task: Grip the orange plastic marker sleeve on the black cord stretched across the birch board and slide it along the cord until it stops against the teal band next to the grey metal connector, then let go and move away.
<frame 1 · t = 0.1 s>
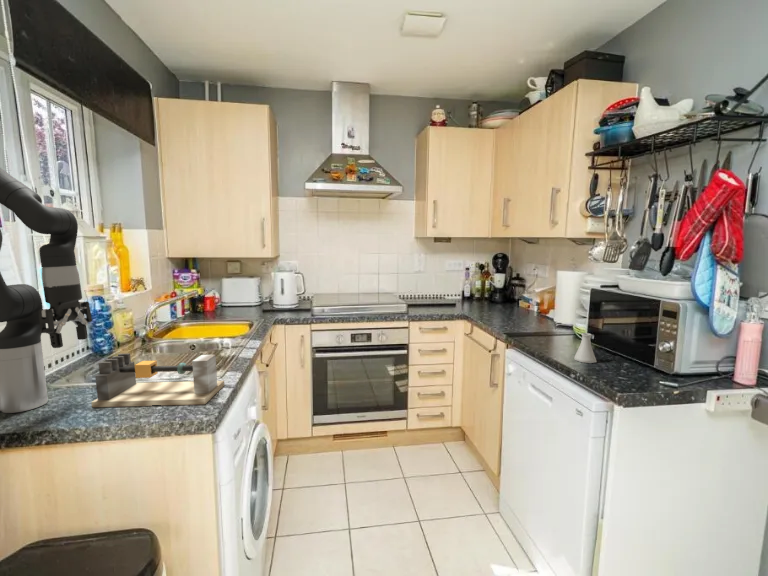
hand: (70, 343, 101), 17 cm above the worktop, tool pointing down, fingers open, 8 cm apart
cord board: (162, 395, 109), on the worktop
sleeve: (146, 369, 108), point 8 cm above the worktop, slide at 0.0 cm
flask: (585, 361, 137), on the worktop
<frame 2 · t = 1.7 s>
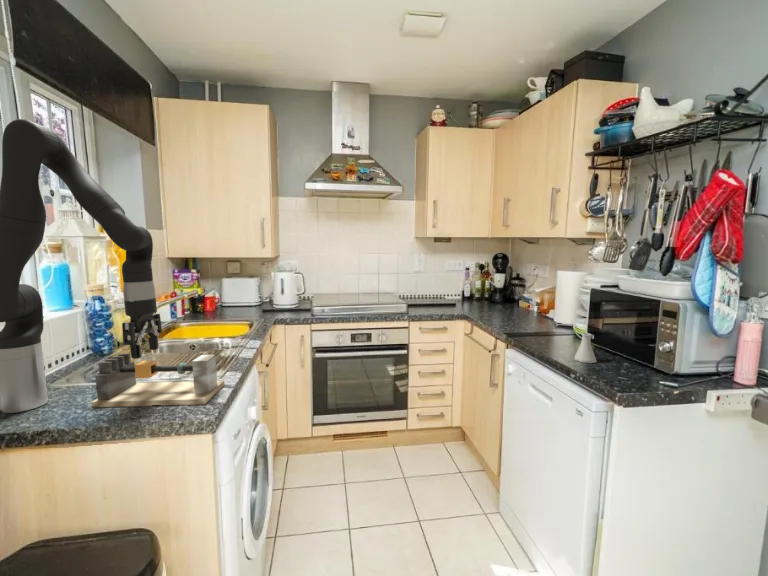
hand: (145, 353, 107), 13 cm above the worktop, tool pointing down, fingers open, 8 cm apart
nothing on the worktop moved.
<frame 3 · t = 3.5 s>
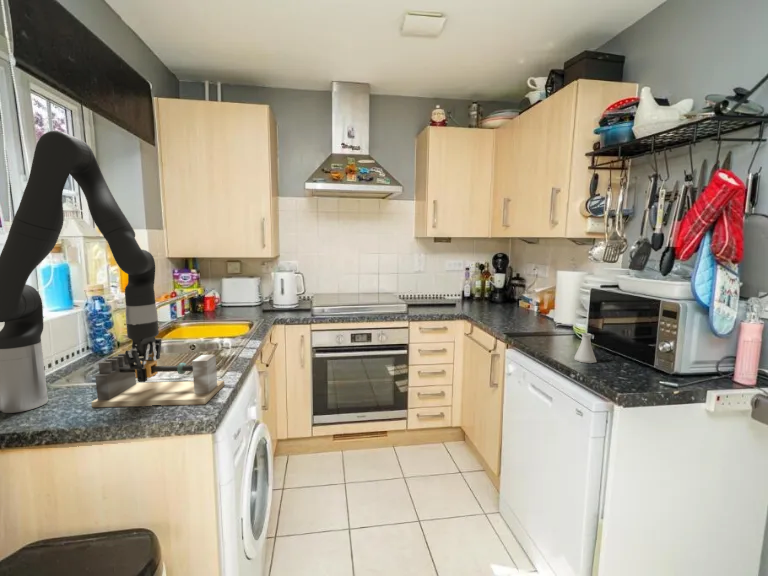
hand: (147, 378, 108), 5 cm above the worktop, tool pointing down, fingers closed on sleeve, 4 cm apart
sleeve: (146, 369, 108), point 8 cm above the worktop, slide at 0.0 cm, touching gripper
everything else where it was.
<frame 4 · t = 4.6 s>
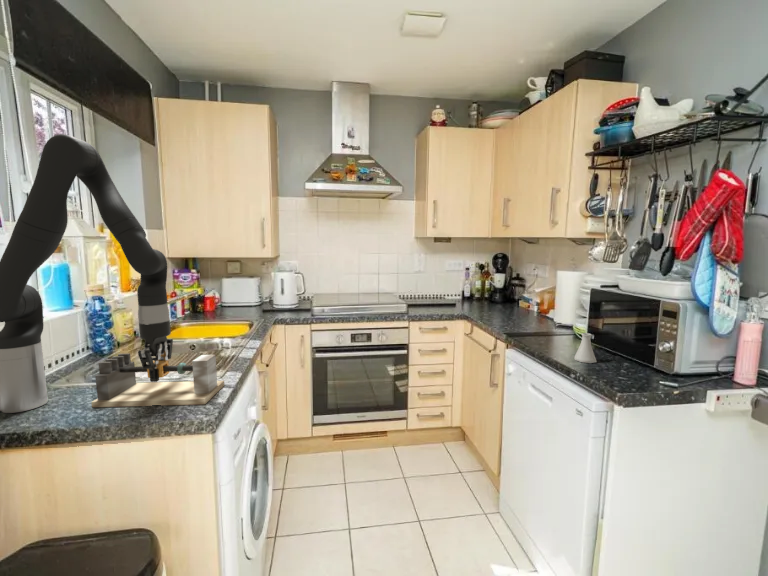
hand: (159, 378, 108), 5 cm above the worktop, tool pointing down, fingers closed on sleeve, 3 cm apart
sleeve: (158, 368, 108), point 8 cm above the worktop, slide at 3.4 cm, touching gripper
everything else where it was.
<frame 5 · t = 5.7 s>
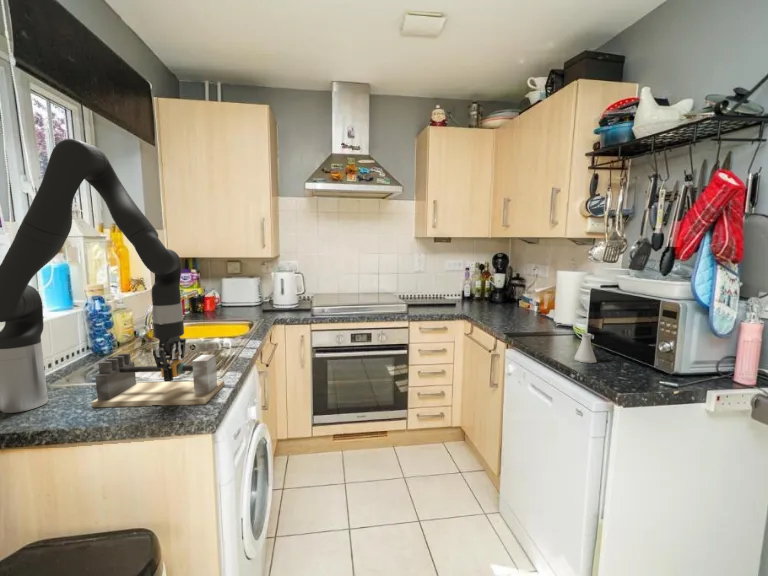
hand: (172, 377, 108), 5 cm above the worktop, tool pointing down, fingers closed on sleeve, 4 cm apart
sleeve: (172, 368, 108), point 8 cm above the worktop, slide at 7.2 cm, touching gripper
everything else where it was.
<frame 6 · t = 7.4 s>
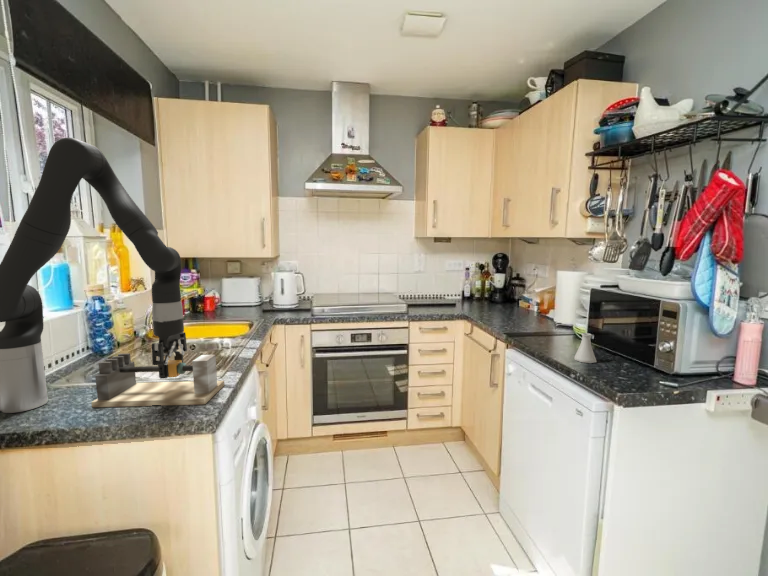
hand: (172, 372, 108), 7 cm above the worktop, tool pointing down, fingers open, 8 cm apart
sleeve: (172, 368, 108), point 8 cm above the worktop, slide at 7.2 cm
everything else where it was.
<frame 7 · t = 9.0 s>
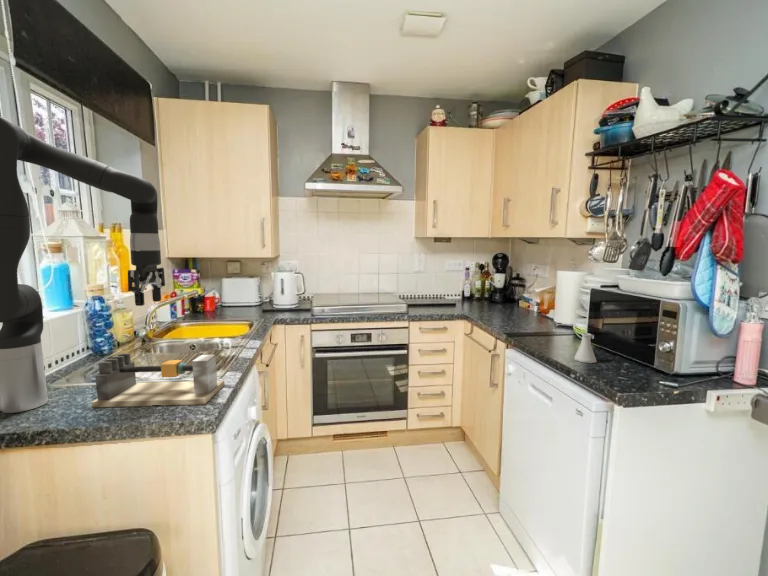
hand: (148, 303, 113), 26 cm above the worktop, tool pointing down, fingers open, 8 cm apart
nothing on the worktop moved.
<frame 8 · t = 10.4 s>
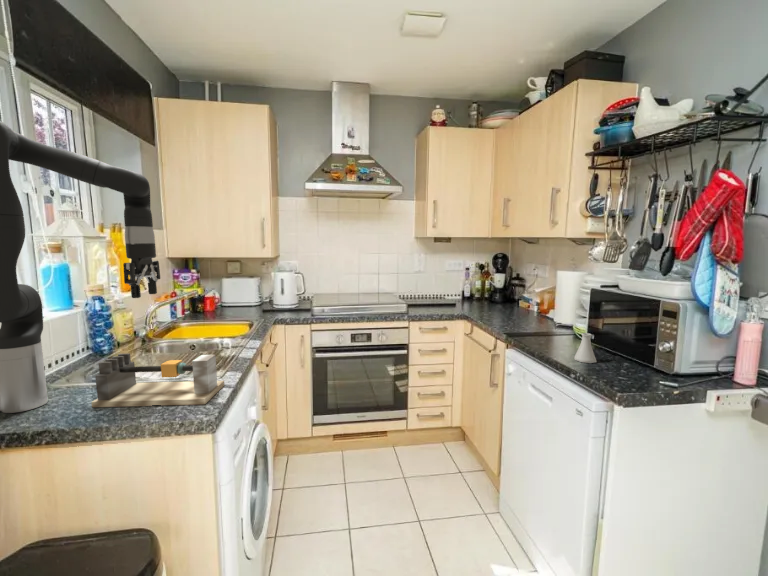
hand: (144, 295, 114), 28 cm above the worktop, tool pointing down, fingers open, 8 cm apart
nothing on the worktop moved.
at the end: sleeve slide at 7.2 cm; the gripper is holding nothing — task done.
